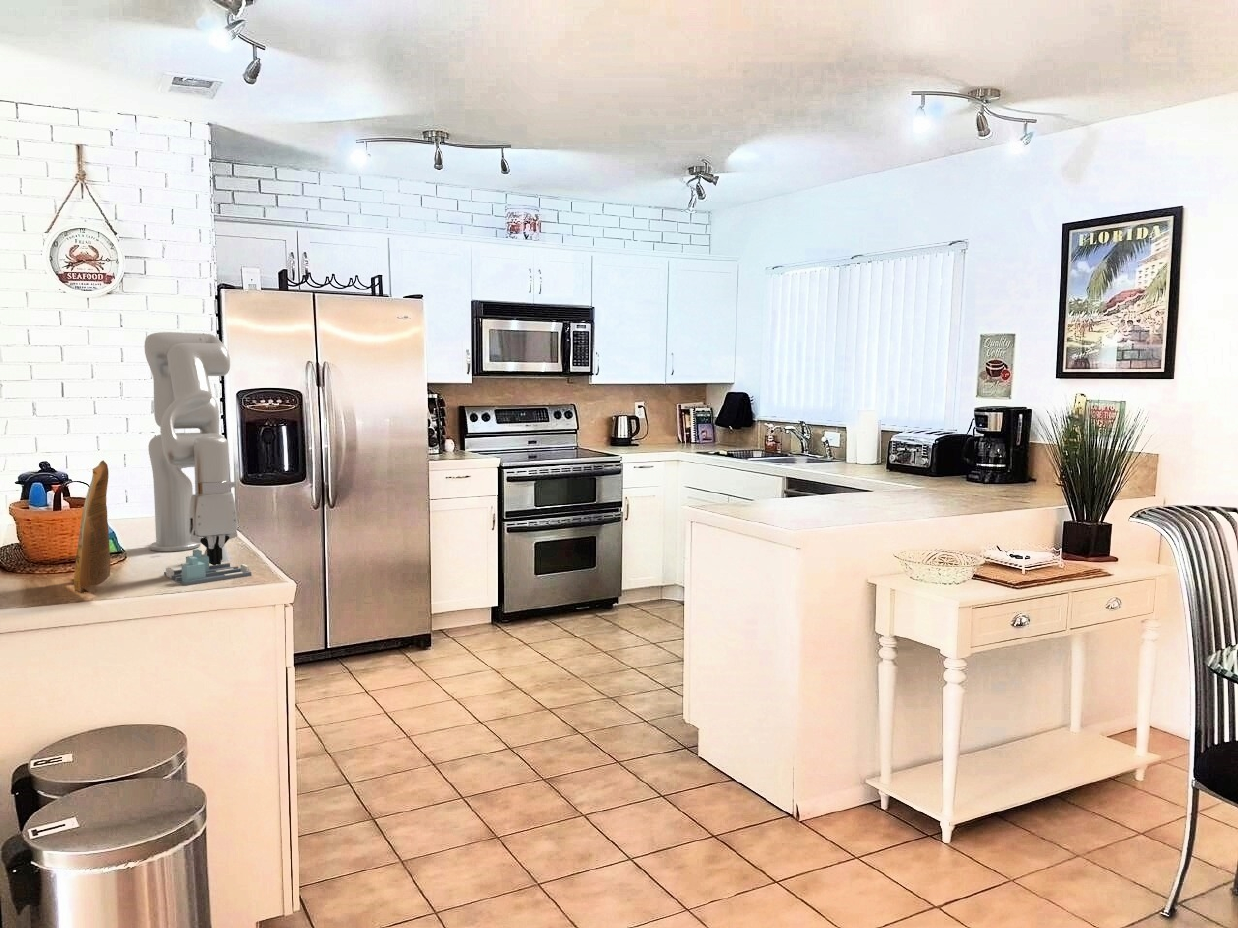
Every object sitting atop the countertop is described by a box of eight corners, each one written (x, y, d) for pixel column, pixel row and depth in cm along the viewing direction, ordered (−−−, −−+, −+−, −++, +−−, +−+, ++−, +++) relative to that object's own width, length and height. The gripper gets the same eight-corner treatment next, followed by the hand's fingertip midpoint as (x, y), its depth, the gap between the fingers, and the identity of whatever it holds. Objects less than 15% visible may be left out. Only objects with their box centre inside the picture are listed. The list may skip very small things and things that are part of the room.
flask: (220, 568, 223) (218, 529, 222) (194, 566, 224) (193, 527, 223) (238, 562, 230) (237, 524, 229) (213, 561, 231) (211, 522, 230)
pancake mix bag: (123, 574, 214) (118, 459, 211) (101, 594, 196) (95, 467, 193) (91, 576, 212) (86, 459, 210) (66, 595, 194) (60, 468, 191)
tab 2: (181, 581, 204) (181, 557, 203) (200, 578, 207) (199, 555, 206) (187, 583, 202) (186, 559, 201) (205, 581, 204) (205, 557, 204)
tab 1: (186, 573, 212) (185, 550, 211) (203, 570, 215) (203, 548, 214) (191, 575, 209) (191, 552, 209) (209, 573, 212) (208, 550, 212)
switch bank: (163, 579, 210) (162, 566, 210) (227, 570, 221) (227, 557, 220) (185, 590, 200) (185, 577, 200) (252, 580, 210) (251, 567, 210)
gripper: (237, 484, 221) (239, 557, 223) (173, 489, 210) (176, 565, 212) (250, 487, 215) (252, 562, 217) (185, 492, 205) (188, 571, 207)
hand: (214, 563), depth 215 cm, fingers closed
